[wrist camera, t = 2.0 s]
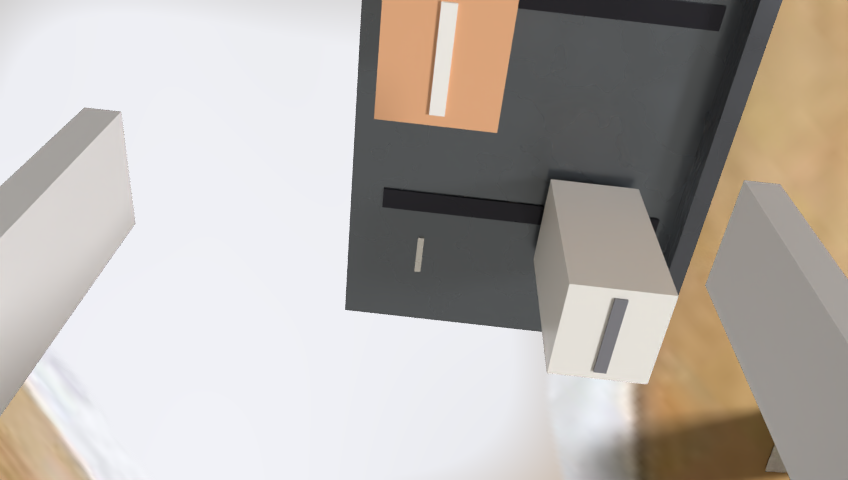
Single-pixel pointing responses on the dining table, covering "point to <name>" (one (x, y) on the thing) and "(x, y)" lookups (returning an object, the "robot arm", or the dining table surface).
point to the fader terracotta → (444, 62)
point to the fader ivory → (601, 283)
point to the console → (548, 151)
